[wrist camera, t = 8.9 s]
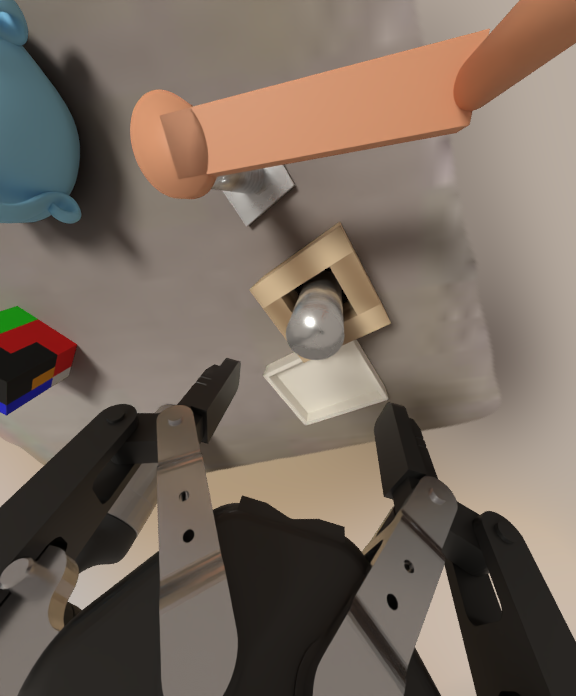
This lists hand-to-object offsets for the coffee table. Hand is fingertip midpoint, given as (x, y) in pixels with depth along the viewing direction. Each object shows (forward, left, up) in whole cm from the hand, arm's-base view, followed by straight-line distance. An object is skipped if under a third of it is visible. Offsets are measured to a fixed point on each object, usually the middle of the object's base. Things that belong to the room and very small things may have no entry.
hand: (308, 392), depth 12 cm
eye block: (0, 0, -17) cm, 17 cm away
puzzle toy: (-46, +17, -17) cm, 52 cm away
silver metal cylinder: (0, 0, -17) cm, 17 cm away
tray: (-6, -11, -17) cm, 21 cm away
